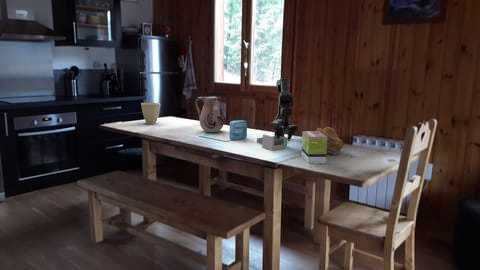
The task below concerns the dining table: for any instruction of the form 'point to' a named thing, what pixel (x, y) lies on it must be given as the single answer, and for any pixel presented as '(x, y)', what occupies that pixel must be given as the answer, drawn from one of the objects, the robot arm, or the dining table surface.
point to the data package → (238, 130)
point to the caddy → (280, 142)
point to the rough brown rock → (332, 140)
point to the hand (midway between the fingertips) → (283, 139)
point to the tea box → (314, 146)
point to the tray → (260, 140)
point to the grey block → (271, 143)
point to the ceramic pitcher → (210, 114)
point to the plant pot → (150, 112)
